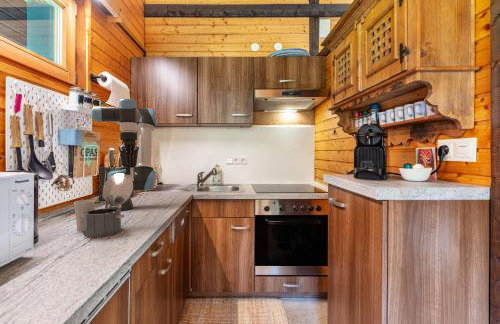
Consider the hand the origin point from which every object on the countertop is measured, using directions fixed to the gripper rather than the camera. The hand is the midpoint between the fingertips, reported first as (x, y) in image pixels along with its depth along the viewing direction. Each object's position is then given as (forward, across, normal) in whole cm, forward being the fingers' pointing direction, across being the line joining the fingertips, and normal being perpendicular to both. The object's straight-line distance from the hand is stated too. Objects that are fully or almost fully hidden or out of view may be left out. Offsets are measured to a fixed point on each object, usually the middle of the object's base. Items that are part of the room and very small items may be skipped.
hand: (130, 181), depth 133 cm
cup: (+20, +14, -13) cm, 27 cm away
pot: (+20, +19, 0) cm, 27 cm away
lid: (+3, +9, 0) cm, 10 cm away
